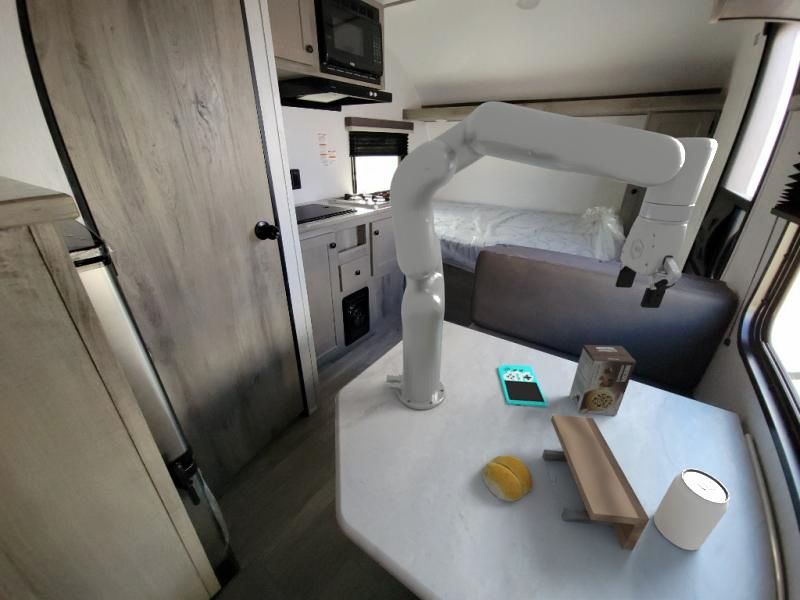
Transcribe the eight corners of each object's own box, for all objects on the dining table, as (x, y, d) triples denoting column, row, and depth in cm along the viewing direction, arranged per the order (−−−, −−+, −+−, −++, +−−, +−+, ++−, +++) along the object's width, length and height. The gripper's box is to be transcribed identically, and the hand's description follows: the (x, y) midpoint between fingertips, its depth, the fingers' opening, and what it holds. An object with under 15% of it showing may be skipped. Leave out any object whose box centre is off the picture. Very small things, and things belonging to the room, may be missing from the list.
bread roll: (538, 485, 62) (542, 471, 60) (507, 511, 58) (511, 497, 56) (505, 454, 68) (507, 441, 66) (474, 475, 64) (476, 462, 62)
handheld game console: (531, 369, 94) (532, 365, 94) (548, 409, 80) (549, 405, 80) (496, 367, 95) (497, 363, 95) (507, 406, 81) (507, 402, 81)
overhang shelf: (570, 543, 53) (583, 512, 49) (537, 442, 71) (544, 414, 67) (632, 550, 52) (649, 519, 48) (582, 446, 70) (592, 417, 66)
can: (643, 512, 57) (667, 467, 52) (677, 509, 58) (704, 464, 52) (674, 554, 51) (705, 508, 46) (711, 550, 52) (746, 504, 46)
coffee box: (604, 397, 83) (622, 345, 76) (617, 416, 77) (638, 361, 70) (567, 395, 84) (582, 343, 77) (577, 413, 78) (594, 359, 71)
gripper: (619, 204, 67) (597, 280, 74) (673, 222, 52) (639, 315, 59) (657, 204, 66) (631, 281, 74) (724, 223, 51) (683, 317, 58)
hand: (635, 296), depth 66 cm, fingers open, 9 cm apart
